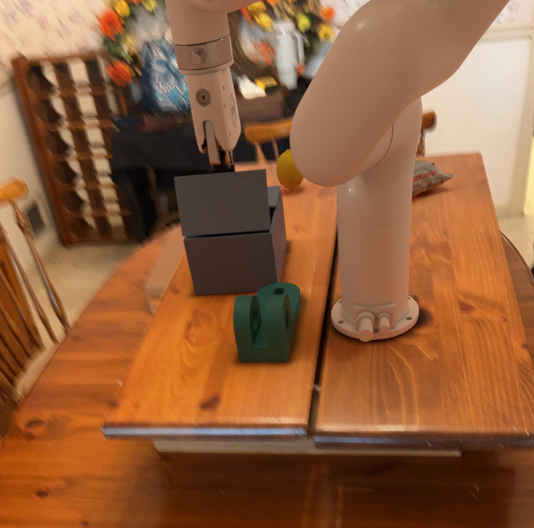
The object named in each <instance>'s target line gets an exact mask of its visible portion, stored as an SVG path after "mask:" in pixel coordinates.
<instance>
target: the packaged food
mask: <svg viewBox="0 0 534 528" xmlns="http://www.w3.org/2000/svg"><path fill="white" fill-rule="evenodd" d="M453 177H454V174H453V173H450V172H444V171H443V170H442V169H440V168H439V167H437V166H436V164H435V163H434V162H431V161H425V160H419V159H417V160H415V165H414V174H413V187H412V198H413V197H415V196H418V195H420V194H423V193H427V192H428V191H430V190H432V189H435V188H438V187H440V186H443V185H444V184H445V183H446V182H448V181H451V180H452V179H453Z"/></svg>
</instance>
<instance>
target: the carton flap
mask: <svg viewBox="0 0 534 528" xmlns="http://www.w3.org/2000/svg"><path fill="white" fill-rule="evenodd" d="M173 182H174V189H175V195H176V203H177V209H178V215H179V216H178V217H179V223H180V230H181V235H182V237H185V236H194V235H207V234H220V233H233V232H247V231H260V230H271V225H270V213H269V200H268V188H267V187H268V177H267V169H266V168H259V169H249V170H239V171H235V172H226V173H215V174H212V173H205V174H194V175H193V174H192V175H184V176H183V175H182V176H174V177H173Z"/></svg>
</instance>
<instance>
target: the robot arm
mask: <svg viewBox="0 0 534 528" xmlns="http://www.w3.org/2000/svg"><path fill="white" fill-rule="evenodd" d="M510 1H511V0H369V1H367V2H366V3H364V4H362V6H360V7H359V8H358V9H357V10H356V11H355V12H354V13H353V14H352V15H351V16H350V17H349V18H348V20H347V21H346V22H344V25H343V26H342V27H341V29H340V31H339V32H338V33H337V35H336V37H335V39H334V40H333V42H332V43H331V46H330V48H329V49H328V51H327V53H326V54H325V57H324V58H323V60H322V62H321V63H320V65H319V67H318V69H317V71H316V72H315V74H314V76H313V78H312V79H311V81H310V83H309V85H308V87H307V89H306V90H305V92H304V94H303V96H302V97H301V99H300V101H299V103H298V105H297V107H296V109H295V111H294V114H293V117H292V121H291V124H290V130H289V148H290V150H291V154H292V158H293V161H294V163H295V165H296V167H297V169H298V171H299V172H300V173H301V175H302V176H303V177H304V178H303V179H306V181H308V182H310V183H312V184H314V185H316V186H319V187H323V188H324V187H325V188H332V187H333V188H335V187H336V222H337V223H336V224H337V226H336V227H337V243H338V244H337V246H338V261H339V262H338V267H339V284H340V287H339V288H340V298H339V300H337V301H336V302H335V303H334V305H333V306H332V309H331V311H330V318H331V323H332V326H333V327H334V328H335V329H336V330H337V331H338V332H339V333H341V334H342V335H345V336H346V337H350V338H353V339H357V340H360V341H361V342H366V343H367V342H370V341H377V340H386V339H391V338H394V337H397V336H399V335H402V334H404V333H406V332H407V331H409V330H410V329H412V328H413V327H414V326H415V325H416V324H417V322H418V319H419V315H420V307H419V304H418V302H417V301H416V300H415V299H414V298H413V297H412V296H410V295H409V290H410V289H409V287H410V286H409V285H410V262H411V261H410V260H411V259H410V257H411V226H412V224H411V223H412V211H413V210H412V207H413V197H412V187H413V174H414V165H415V161H416V158H417V152H418V147H419V142H420V137H421V136H420V135H421V131H422V124H423V102H422V97H423V96H425V95H426V94H428V93H429V92H432V91H433V90H435V89H436V88H438V87H440V86H441V85H443V84H444V83H446V82H447V81H448V80H449V79H450V78H452V76H453V75H454V74H455V73H456V72H457V71H458V70H459V69H460V67H461V66H462V65H463V63H464V62H465V61H466V59H467V58H468V56H469V55H470V54H471V52H473V50H474V48H475V46H476V45H477V44H478V43H479V41H480V40H481V39H482V37H483V36H484V35H485V33H486V32H487V31H488V30H489V28H490V27H491V26H492V24H493V23H494V22H495V20H496V19H498V17H499V16H500V14H501V13H502V11H503V10H504V9H505V8H506V6H507V5H508V4H509V2H510ZM259 2H263V0H164V3H165V9H166V14H167V19H168V25H169V28H170V35H171V39H172V44H173V50H174V54H175V60H176V65H177V70H178V73H179V74H181V75H185V77H186V85H187V93H188V99H189V105H190V112H191V117H192V123H193V128H194V134H195V139H196V144H197V146H198V150H199V152H200V153H201V154H203V155H205V154H208V160H209V165H210V168H211V174H215V173H226V172H236V166H235V164H234V154H233V150H234V149H235V147H236V145H237V143H238V141H239V139H240V137H241V133H242V125H241V119H240V114H239V109H238V103H237V97H236V92H235V88H234V87H235V86H234V82H233V77H232V72H231V68H230V67H231V66H232V65H234V63H235V62H234V61H235V60H234V55H233V54H234V53H233V48H232V41H231V34H230V26H229V20H228V14H230V13H233V12H236V11H239V10H242V9H244V8H247V7H249V6H251V5H253V4H257V3H259Z"/></svg>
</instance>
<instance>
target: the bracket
mask: <svg viewBox="0 0 534 528" xmlns="http://www.w3.org/2000/svg"><path fill="white" fill-rule="evenodd" d="M301 294H302V293H301V288H300V286H298V285H297V284H295V283H292V282H288V281H287V282H286V281H280V282H277V283H272V284H269V285H266V286H264V287H262V288H261V289H260V290H259V291H257V292H256V294H238V295H237V296H236V297H235V300H234V303H233V309H232V310H233V311H232V323H233V324H232V325H233V335H234V340H235V345H236V349H237V350H236V351H237V355H238V362H258V363H259V362H263V363H264V362H273V363H274V362H280V363H281V362H288V358H289V355H290V350H291V347H292V343H293V339H294V335H295V332H296V327H297V324H298V320H299V315H300V313H301V308H302V296H301Z"/></svg>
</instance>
